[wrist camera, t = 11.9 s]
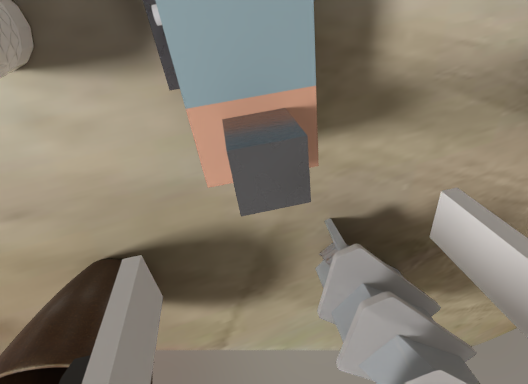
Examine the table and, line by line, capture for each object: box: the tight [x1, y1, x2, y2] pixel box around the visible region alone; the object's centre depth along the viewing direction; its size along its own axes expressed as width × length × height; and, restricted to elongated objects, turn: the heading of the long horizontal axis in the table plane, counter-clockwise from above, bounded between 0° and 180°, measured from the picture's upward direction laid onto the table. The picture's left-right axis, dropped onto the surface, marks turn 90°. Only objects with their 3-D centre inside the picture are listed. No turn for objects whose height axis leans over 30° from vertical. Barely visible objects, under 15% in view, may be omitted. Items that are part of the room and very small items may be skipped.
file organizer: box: [315, 218, 480, 384], centre depth 37 cm, size 26×35×22 cm
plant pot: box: [0, 259, 152, 384], centre depth 33 cm, size 15×15×16 cm
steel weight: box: [222, 108, 311, 216], centre depth 21 cm, size 5×5×6 cm
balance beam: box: [152, 0, 318, 188], centre depth 19 cm, size 26×11×2 cm, turn 8°
